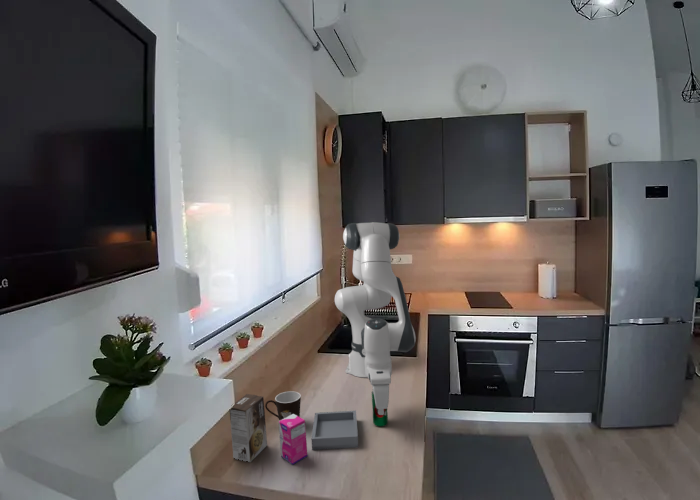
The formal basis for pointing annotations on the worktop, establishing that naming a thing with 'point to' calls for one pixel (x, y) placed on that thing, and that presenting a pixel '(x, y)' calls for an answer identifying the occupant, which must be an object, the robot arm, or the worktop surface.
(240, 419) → the coffee box
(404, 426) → the worktop surface
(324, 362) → the worktop surface
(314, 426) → the tray
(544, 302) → the worktop surface
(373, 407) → the soda can
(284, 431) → the supplement box
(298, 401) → the coffee mug
